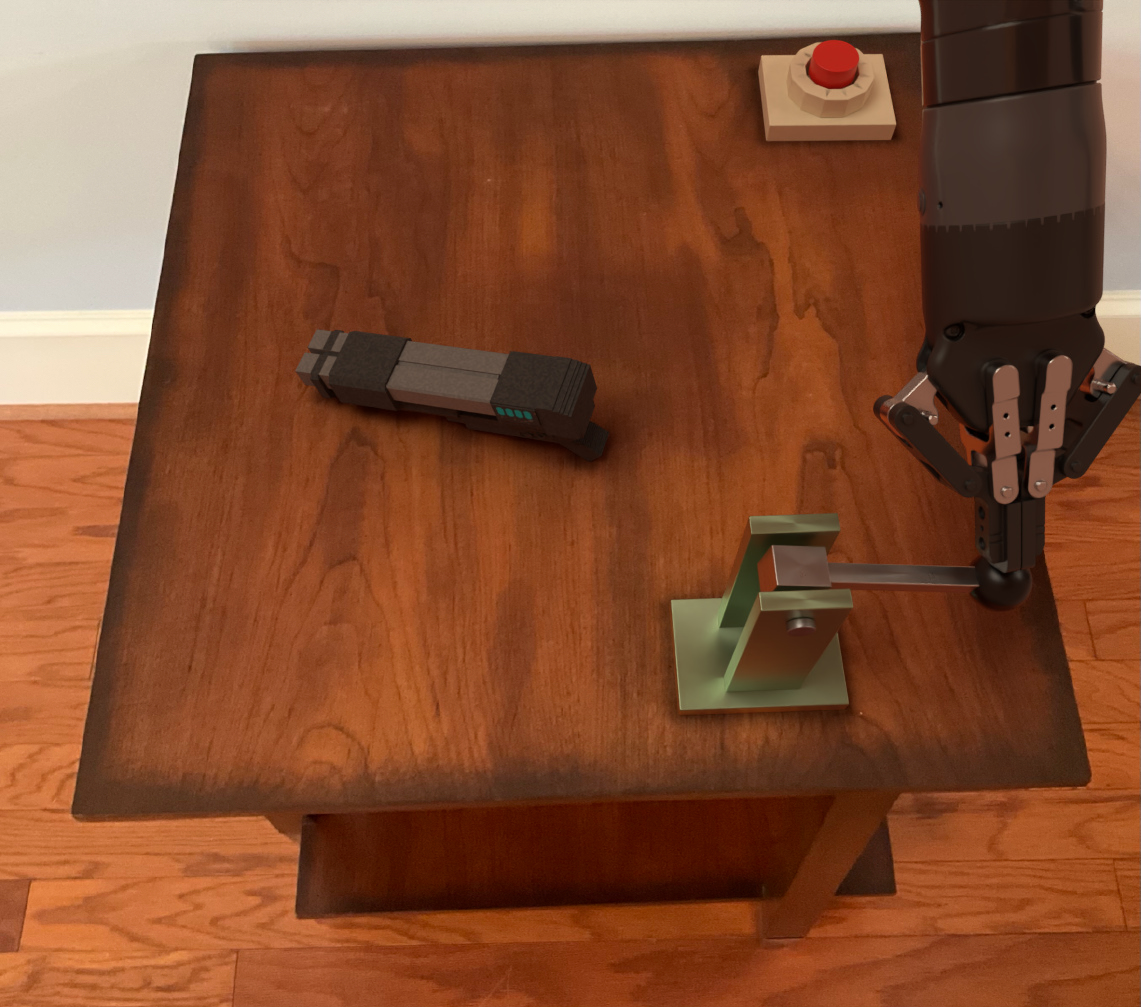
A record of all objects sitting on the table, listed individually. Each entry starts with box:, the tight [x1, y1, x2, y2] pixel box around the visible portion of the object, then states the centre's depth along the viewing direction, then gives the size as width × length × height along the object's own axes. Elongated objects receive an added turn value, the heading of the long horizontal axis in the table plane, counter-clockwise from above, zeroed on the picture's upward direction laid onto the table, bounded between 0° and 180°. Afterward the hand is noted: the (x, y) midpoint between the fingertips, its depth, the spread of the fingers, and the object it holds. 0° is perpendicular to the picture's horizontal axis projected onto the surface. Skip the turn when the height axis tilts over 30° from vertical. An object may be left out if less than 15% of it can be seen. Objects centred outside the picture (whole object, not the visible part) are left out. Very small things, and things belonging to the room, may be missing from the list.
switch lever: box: [757, 545, 1034, 613], centre depth 51 cm, size 14×3×3 cm, turn 92°
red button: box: [809, 39, 859, 89], centre depth 79 cm, size 4×4×2 cm
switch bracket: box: [668, 512, 854, 716], centre depth 55 cm, size 10×7×15 cm
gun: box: [294, 328, 610, 462], centre depth 68 cm, size 4×20×10 cm, turn 73°
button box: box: [757, 41, 897, 142], centre depth 81 cm, size 10×8×4 cm
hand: (1010, 564), depth 50 cm, fingers closed
